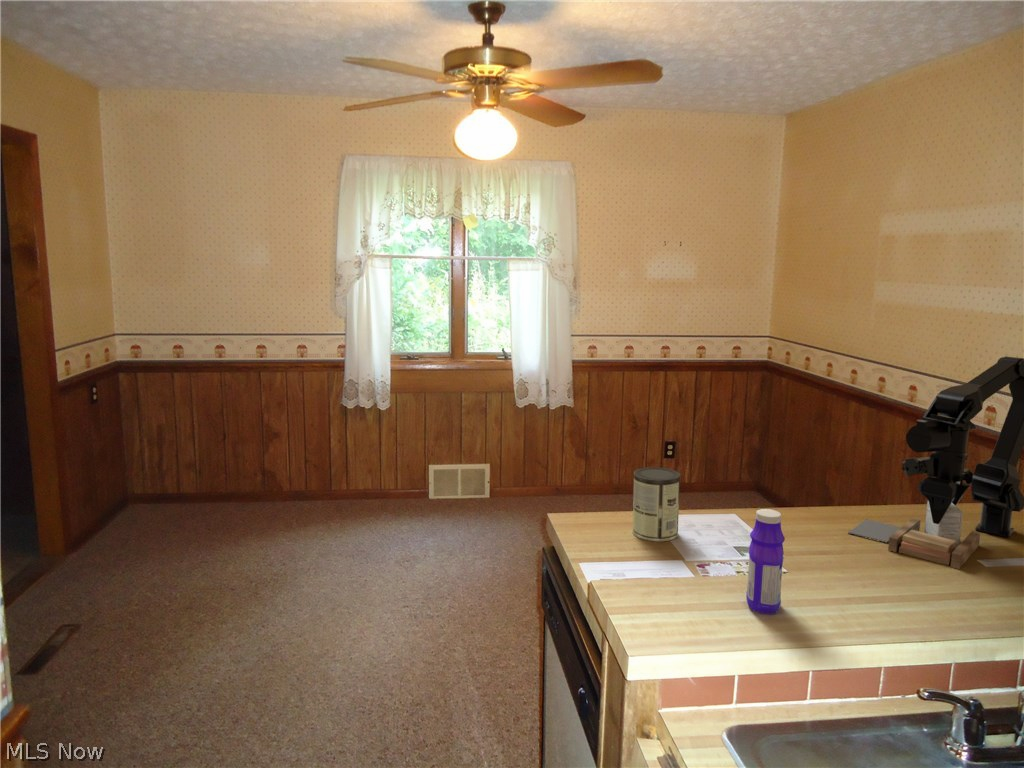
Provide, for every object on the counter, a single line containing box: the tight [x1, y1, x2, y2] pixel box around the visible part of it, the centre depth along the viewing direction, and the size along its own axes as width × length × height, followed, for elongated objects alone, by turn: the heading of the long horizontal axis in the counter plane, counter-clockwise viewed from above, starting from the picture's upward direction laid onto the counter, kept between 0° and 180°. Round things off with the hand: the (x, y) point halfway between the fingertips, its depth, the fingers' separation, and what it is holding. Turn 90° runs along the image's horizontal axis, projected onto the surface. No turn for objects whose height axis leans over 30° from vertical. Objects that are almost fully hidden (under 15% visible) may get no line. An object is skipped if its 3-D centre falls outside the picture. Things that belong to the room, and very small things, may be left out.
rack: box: [887, 517, 981, 570], centre depth 146 cm, size 17×13×3 cm
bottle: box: [745, 508, 786, 615], centre depth 119 cm, size 7×6×17 cm
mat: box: [847, 518, 902, 544], centre depth 156 cm, size 12×8×1 cm, turn 135°
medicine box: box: [924, 499, 964, 549], centre depth 149 cm, size 8×4×9 cm, turn 167°
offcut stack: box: [898, 530, 956, 566], centre depth 142 cm, size 6×9×4 cm
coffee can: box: [632, 466, 682, 543], centre depth 153 cm, size 10×10×14 cm
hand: (941, 518), depth 149 cm, fingers open, 9 cm apart
